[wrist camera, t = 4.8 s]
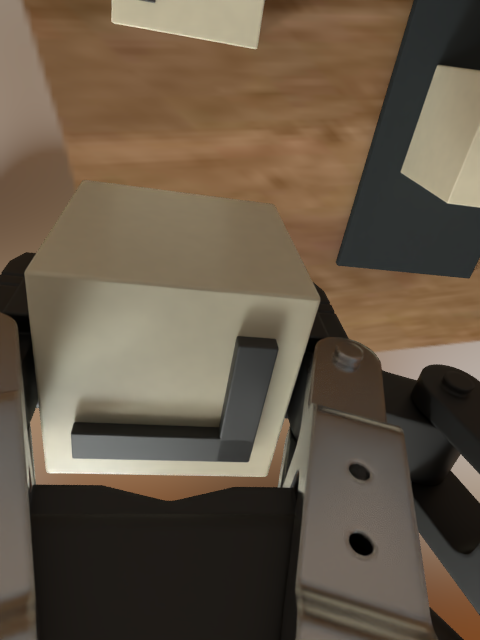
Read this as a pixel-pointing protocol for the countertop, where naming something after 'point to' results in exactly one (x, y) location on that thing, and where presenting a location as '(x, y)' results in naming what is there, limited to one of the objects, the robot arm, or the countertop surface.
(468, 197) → the tile
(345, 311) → the countertop surface
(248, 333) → the tile
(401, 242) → the word mat
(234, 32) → the tile
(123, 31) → the countertop surface
